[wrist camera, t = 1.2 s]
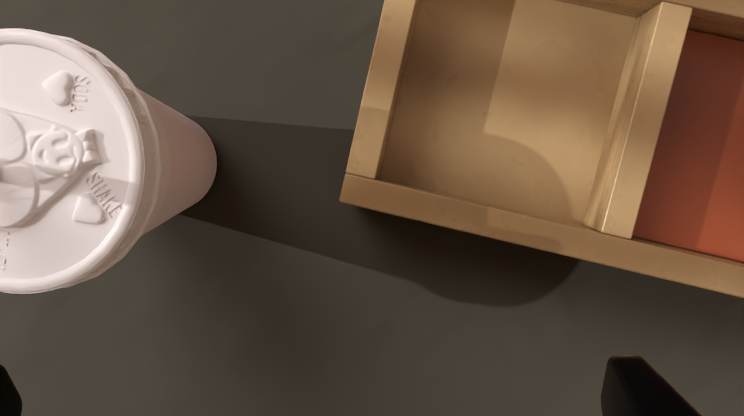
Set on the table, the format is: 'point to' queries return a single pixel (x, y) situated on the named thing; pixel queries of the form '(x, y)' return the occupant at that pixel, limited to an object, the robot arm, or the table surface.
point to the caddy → (563, 129)
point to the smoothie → (84, 162)
